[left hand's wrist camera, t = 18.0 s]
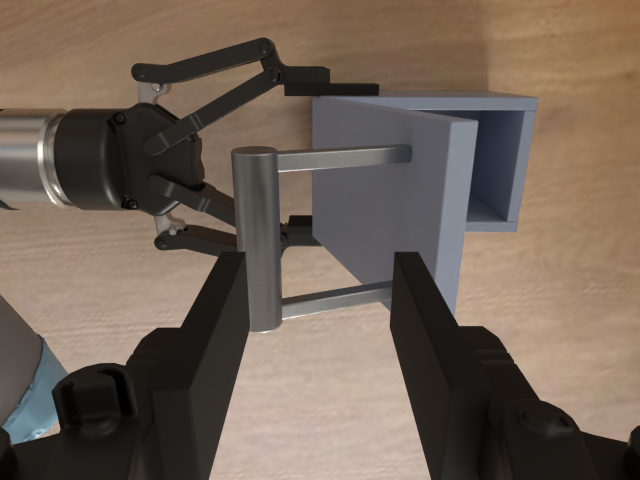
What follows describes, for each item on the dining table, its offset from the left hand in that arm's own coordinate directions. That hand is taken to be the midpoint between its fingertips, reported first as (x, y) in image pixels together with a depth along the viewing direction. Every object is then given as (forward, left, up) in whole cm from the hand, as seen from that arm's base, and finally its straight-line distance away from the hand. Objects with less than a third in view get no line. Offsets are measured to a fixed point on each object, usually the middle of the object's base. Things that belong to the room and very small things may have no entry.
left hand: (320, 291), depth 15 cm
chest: (-7, -1, -28) cm, 29 cm away
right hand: (-4, 0, -21) cm, 21 cm away
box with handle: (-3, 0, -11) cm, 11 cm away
